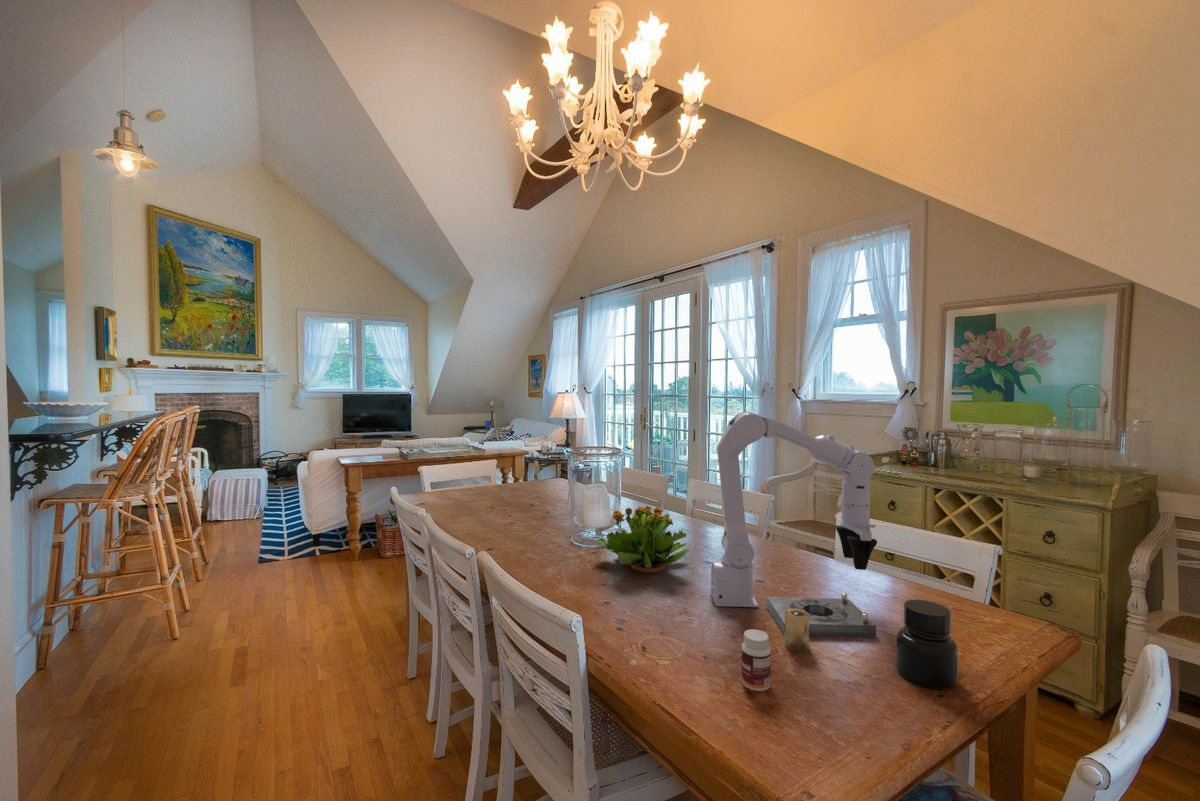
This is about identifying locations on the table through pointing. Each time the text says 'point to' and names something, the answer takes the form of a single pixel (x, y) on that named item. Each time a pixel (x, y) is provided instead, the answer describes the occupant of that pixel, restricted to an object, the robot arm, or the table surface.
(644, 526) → the potted flower
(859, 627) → the jig
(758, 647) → the pill bottle
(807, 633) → the bushing
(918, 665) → the ink bottle
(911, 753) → the table surface
